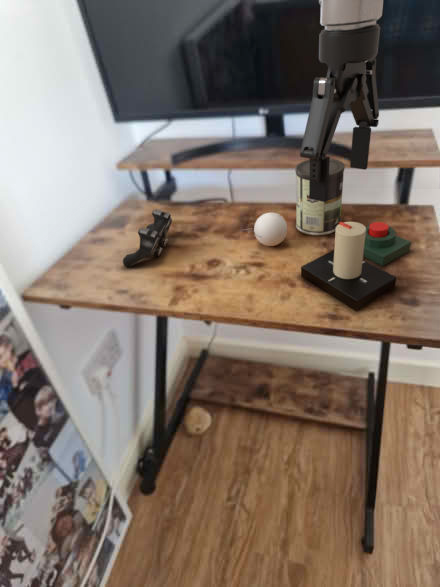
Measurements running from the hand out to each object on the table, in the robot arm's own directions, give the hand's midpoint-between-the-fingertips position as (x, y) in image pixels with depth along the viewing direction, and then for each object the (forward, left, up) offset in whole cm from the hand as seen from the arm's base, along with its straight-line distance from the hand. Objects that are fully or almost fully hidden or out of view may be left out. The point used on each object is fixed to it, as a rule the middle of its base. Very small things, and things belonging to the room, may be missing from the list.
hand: (339, 183), depth 65 cm
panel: (-1, -2, -20) cm, 20 cm away
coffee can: (+19, -14, -20) cm, 31 cm away
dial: (-2, -2, -17) cm, 18 cm away
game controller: (+37, +21, -20) cm, 47 cm away
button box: (+3, -15, -20) cm, 25 cm away
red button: (+3, -15, -16) cm, 22 cm away
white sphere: (+21, 0, -20) cm, 29 cm away
